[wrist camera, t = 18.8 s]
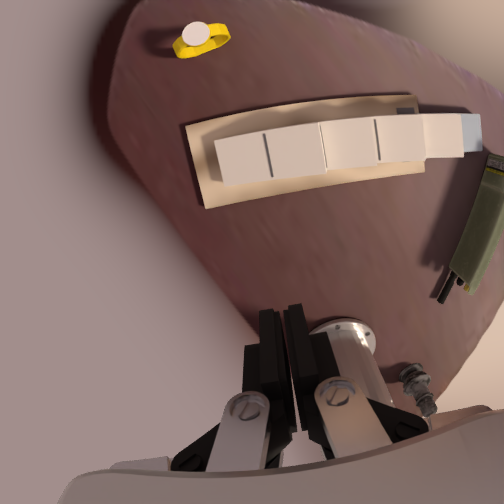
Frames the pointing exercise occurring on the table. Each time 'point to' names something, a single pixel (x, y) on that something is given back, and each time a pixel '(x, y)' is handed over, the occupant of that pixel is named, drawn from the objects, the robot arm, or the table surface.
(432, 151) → the domino
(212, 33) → the yellow wristwatch
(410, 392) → the dark grey tall piece
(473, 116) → the domino
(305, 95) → the table surface
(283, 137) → the domino
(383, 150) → the domino
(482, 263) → the handheld radio
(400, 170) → the board
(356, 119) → the domino
